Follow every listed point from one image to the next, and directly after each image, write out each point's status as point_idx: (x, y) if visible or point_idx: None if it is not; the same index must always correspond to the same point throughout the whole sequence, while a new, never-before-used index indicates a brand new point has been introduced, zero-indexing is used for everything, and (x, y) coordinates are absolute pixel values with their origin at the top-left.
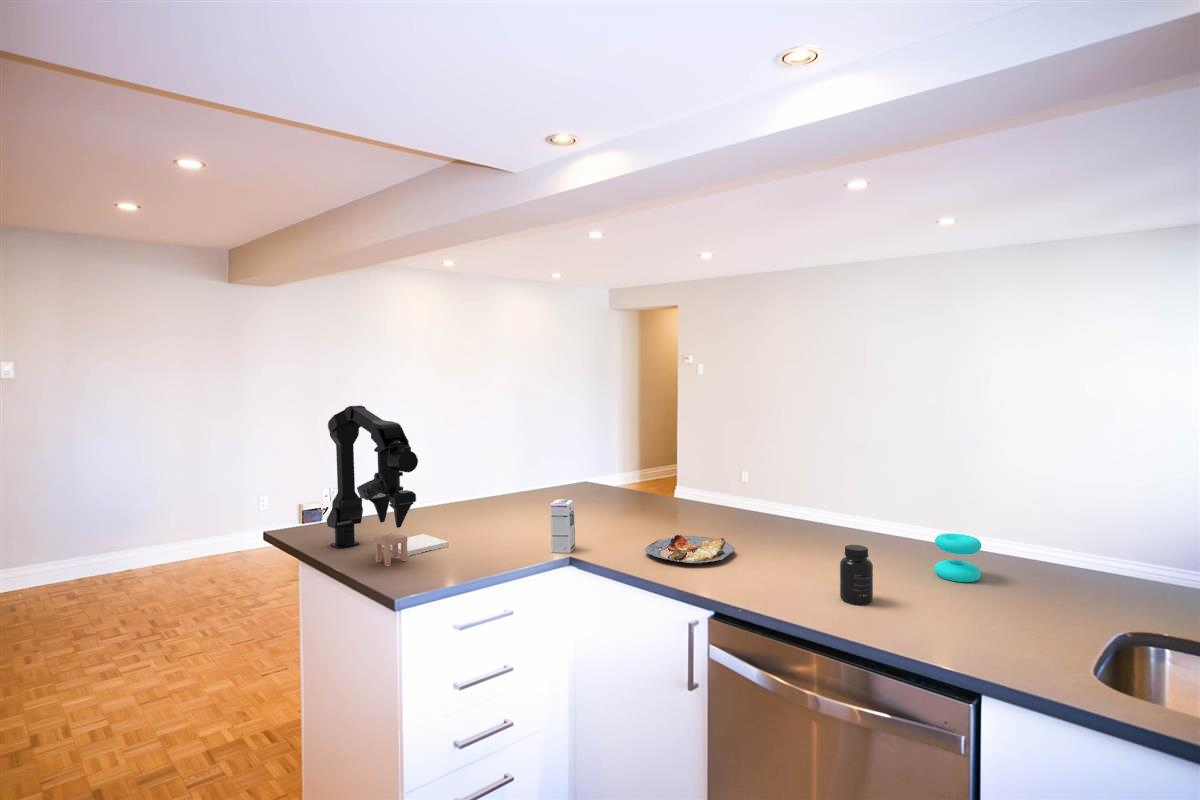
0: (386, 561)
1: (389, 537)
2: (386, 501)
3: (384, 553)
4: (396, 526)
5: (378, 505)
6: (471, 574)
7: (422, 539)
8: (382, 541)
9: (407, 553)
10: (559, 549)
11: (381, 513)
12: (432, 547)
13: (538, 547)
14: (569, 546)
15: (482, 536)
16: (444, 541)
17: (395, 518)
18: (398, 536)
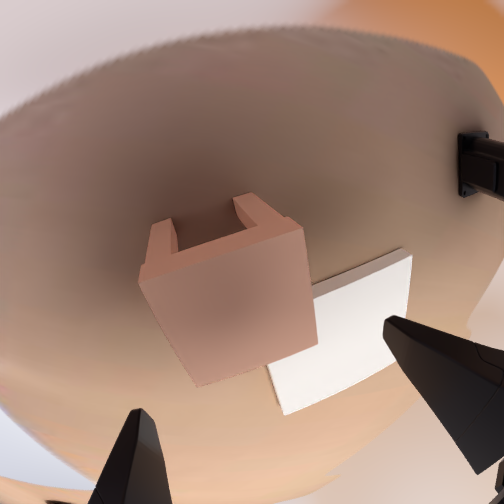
0: (150, 231)
1: (224, 312)
2: (471, 443)
3: (167, 239)
4: (135, 414)
5: (487, 395)
6: (13, 398)
7: (358, 362)
8: (184, 261)
9: None
10: None
11: (428, 366)
12: (273, 384)
13: (171, 486)
14: None
15: (308, 441)
16: (294, 408)
17: (117, 471)
18: (218, 355)
